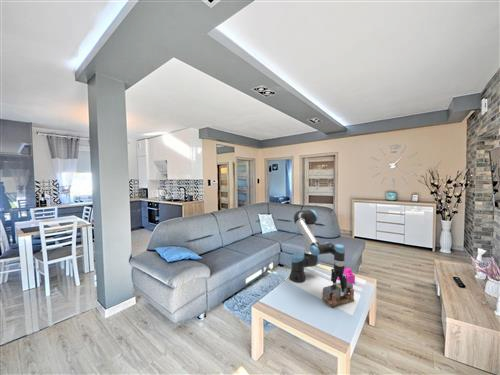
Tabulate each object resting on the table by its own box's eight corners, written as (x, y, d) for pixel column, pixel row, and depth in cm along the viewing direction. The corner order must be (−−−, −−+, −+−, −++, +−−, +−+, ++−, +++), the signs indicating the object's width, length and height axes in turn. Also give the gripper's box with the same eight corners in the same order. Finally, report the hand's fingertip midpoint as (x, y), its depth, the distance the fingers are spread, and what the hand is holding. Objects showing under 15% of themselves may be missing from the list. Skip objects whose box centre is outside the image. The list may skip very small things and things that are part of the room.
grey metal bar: (329, 299, 158) (329, 291, 157) (323, 294, 163) (323, 287, 163) (352, 292, 167) (353, 284, 166) (346, 288, 173) (346, 280, 172)
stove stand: (322, 299, 166) (322, 288, 166) (342, 293, 175) (343, 282, 174) (332, 308, 156) (332, 296, 156) (354, 301, 165) (354, 289, 164)
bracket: (348, 277, 201) (348, 267, 200) (354, 283, 191) (355, 272, 190) (336, 278, 200) (336, 268, 199) (342, 284, 190) (342, 273, 189)
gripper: (326, 260, 171) (325, 288, 172) (345, 270, 153) (344, 301, 155) (333, 259, 174) (332, 286, 175) (352, 268, 156) (352, 298, 158)
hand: (338, 293), depth 165 cm, fingers closed on grey metal bar, 6 cm apart
